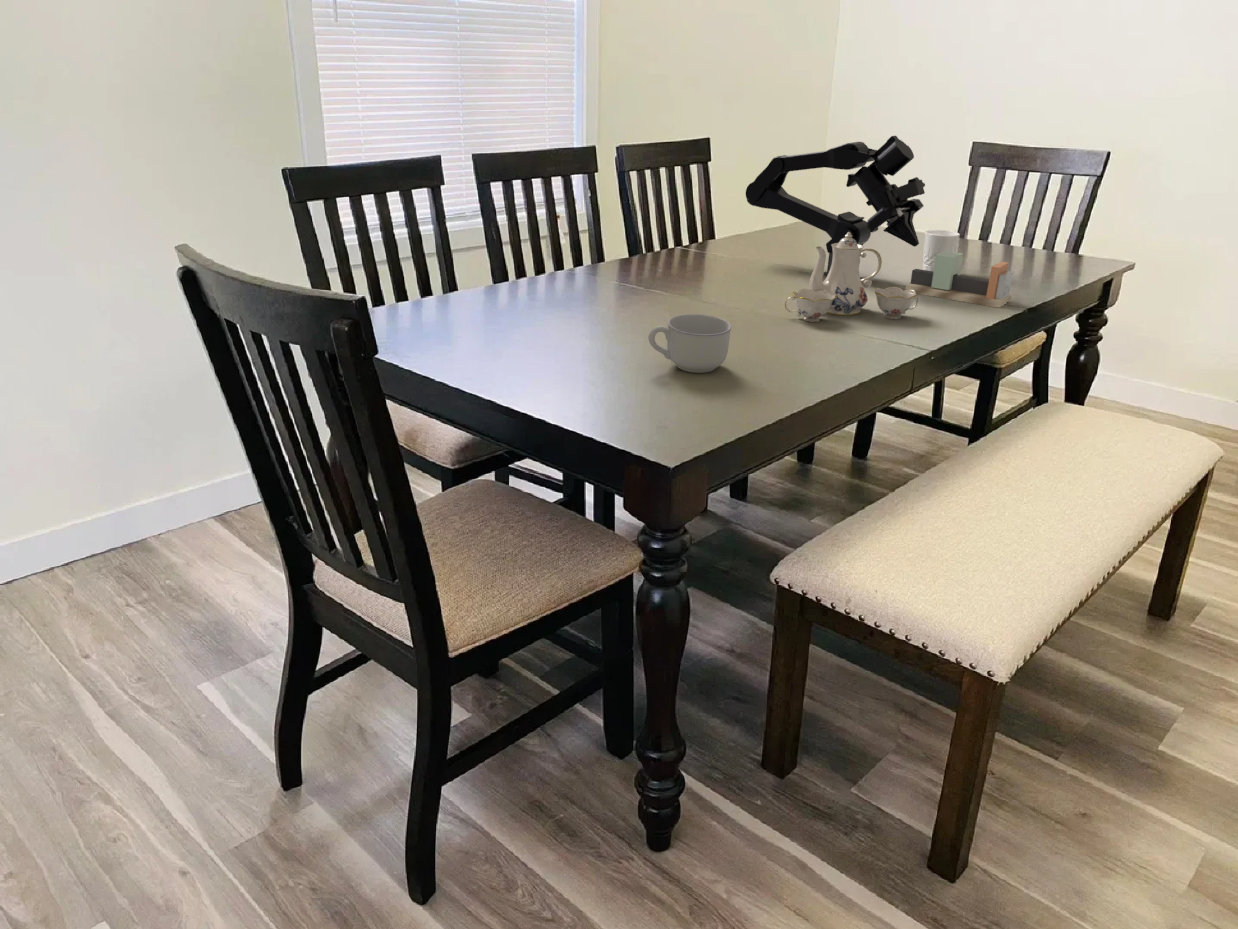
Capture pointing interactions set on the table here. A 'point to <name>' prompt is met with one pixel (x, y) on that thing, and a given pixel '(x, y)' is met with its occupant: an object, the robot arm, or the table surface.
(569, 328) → the table surface
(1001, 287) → the connector
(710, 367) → the teacup
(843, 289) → the chinaware
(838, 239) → the robot arm
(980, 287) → the rail
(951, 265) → the sleeve
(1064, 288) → the table surface
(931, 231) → the white cup
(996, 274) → the band
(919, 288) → the track board
